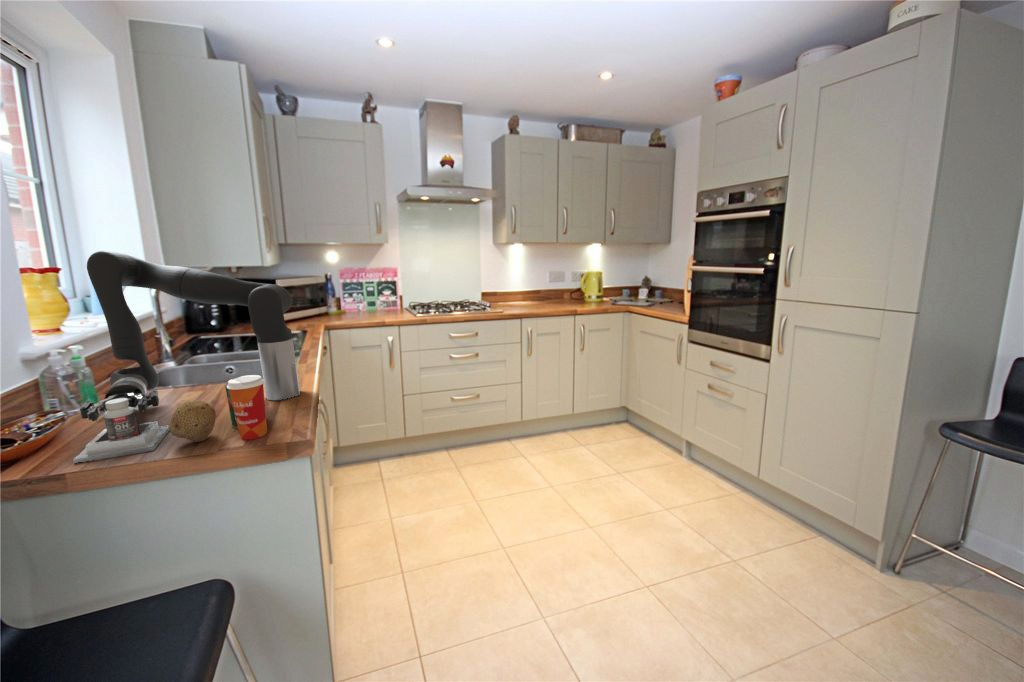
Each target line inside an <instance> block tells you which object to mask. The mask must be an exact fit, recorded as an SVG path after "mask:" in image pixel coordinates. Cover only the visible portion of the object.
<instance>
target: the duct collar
mask: <svg viewBox="0 0 1024 682" xmlns="http://www.w3.org/2000/svg"><path fill="white" fill-rule="evenodd" d="M137 426H138V431H139V436H134V437H128V438H121V439H115V440H109V437H108V433H107V428H104V429H103V430H102V431H101V432H99V433H98V434H97V435H96V436H94V437H93V438H92V439H91V440H90V441H89V442H88V443H87V444H86V445H85V448H84V449H83V450H82V451H81V452H80V453H79V454H78V455H77V456H75V457H74V458H73V459H72V461H73V464H74V463H77V464H79V463H78V462H83V463H86V462H85V461H89V462H93V460H94V461H99V460H106V459H111V458H119V457H122V456H130V455H134V454H140V453H141V454H142V453H147V452H152V451H155V449H156V448H157V447H158V446H159V444H160V443H161V442H162V441H163V440H164V438H165V436H167V434H168V433H169V432H170V430H169V424H165V425H161V426H159V421H158V420H156V421H151V422H150V421H149V422H143V423H142V422H141V423H137Z"/></svg>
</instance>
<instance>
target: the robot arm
mask: <svg viewBox="0 0 1024 682" xmlns="http://www.w3.org/2000/svg"><path fill="white" fill-rule="evenodd" d="M86 269H87V274H88V277H89V280H90V283H91V285H92V287H93V290H94V292H95V295H96V297H97V300H98V302H99V305H100V307H101V310H102V313H103V315H104V317H105V318H104V319H105V322H106V325H107V329H108V333H109V338H110V344H111V348H112V353H113V357H114V358H115V359H116V360H119V361H134V362H136V363H137V364H138V365H139V366H135V367H129V368H120V369H117V370H115V371H113V372H112V373H111V374H110V378H109V383H110V384H109V385H110V387H109V388H108V390H107V391H106V393H105V396H104V399H101V400H99V401H98V402H97V403H94V402H93V401H92V400H87V401H85V402H83V404H82V405H81V406H80V408H79V411H80V415H81V419H84V420H85V419H88V420H89V421H92V422H96V421H98V419H99V418H100V417H101V416H104V413H105V412H106V411H108V409H106V405H105V403H106V402H107V401H110V400H113V399H119V398H127V399H128V402H129V405H128V407H132V408H133V409H134V412H135V411H137V410H138V413H140V414H141V413H142V414H143V413H144V411H147V410H148V409H149V408H150V406H151V407H158V406H159V405H160V398H159V391H158V390H155V389H156V387H157V386H158V385H159V380H160V379H159V375H158V372H157V371H156V368H154V365H153V364H152V363H151V360H150V359H149V356H148V354H147V351H146V347H145V342H144V337H143V331H142V328H141V326H140V323H139V321H138V320H137V318H136V316H135V314H134V313H133V312H132V311H131V309H130V307H129V305H128V303H127V300H126V299H125V296H124V292H123V291H124V289H123V287H135V288H145V289H151V290H157V291H160V292H163V293H165V294H167V295H169V296H172V297H175V298H177V299H181V300H186V301H191V302H196V303H201V304H209V305H211V304H212V305H237V306H242V307H243V306H244V307H248V308H247V309H248V313H249V319H250V323H251V327H252V331H253V334H254V335H255V337H256V341H257V348H258V354H259V359H260V360H259V361H260V367H261V372H262V373H261V374H262V375H261V376H262V380H264V383H263V389H264V395H265V398H267V399H266V400H269V401H282V399H283V400H287V398H288V399H292V398H295V397H299V396H298V395H301V387H300V381H299V375H298V374H299V373H298V366H297V365H298V364H297V361H296V355H295V347H294V340H293V334H292V333H293V332H292V329H291V328H290V327H288V326H287V324H286V321H285V313H286V312H287V311H289V309H291V307H292V305H293V297H292V295H291V293H290V292H289V290H287V289H286V288H284V287H283V286H282V285H279V284H275V283H273V284H272V283H263V282H254V281H246V280H242V279H237V278H234V277H230V276H227V275H224V274H219V273H216V272H211V271H207V270H204V269H198V268H193V267H186V266H179V265H163V264H159V263H156V262H151V261H148V260H144V259H140V258H138V257H135V256H132V255H129V254H126V253H125V254H124V253H121V252H115V251H109V250H100V251H95V252H94V253H92V254H91V255H90V256H89V257H88V259H87V262H86ZM151 390H152V391H151ZM147 391H151V392H149V393H147ZM294 396H295V397H294ZM291 397H292V398H291Z"/></svg>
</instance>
